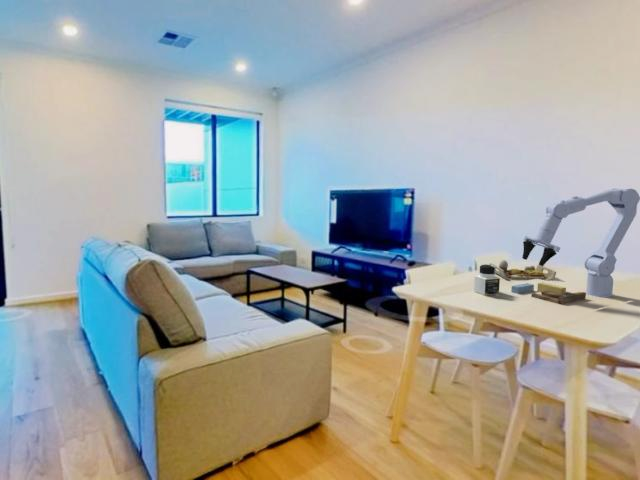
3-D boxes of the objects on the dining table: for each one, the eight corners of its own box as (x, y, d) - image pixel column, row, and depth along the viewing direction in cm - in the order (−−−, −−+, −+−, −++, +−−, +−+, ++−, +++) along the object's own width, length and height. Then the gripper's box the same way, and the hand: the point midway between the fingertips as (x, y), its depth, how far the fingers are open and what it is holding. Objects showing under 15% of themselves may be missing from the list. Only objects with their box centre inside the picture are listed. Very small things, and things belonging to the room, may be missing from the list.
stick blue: (527, 291, 169) (527, 283, 169) (533, 292, 166) (533, 284, 166) (511, 294, 165) (511, 285, 164) (517, 295, 162) (518, 287, 162)
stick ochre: (537, 291, 165) (537, 283, 165) (541, 290, 167) (542, 282, 166) (560, 297, 157) (561, 288, 156) (565, 296, 158) (566, 287, 157)
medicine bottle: (484, 295, 161) (486, 267, 160) (473, 291, 168) (474, 264, 167) (499, 294, 163) (500, 266, 162) (487, 290, 170) (488, 263, 169)
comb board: (531, 298, 157) (531, 289, 157) (555, 293, 164) (555, 285, 164) (560, 306, 147) (561, 297, 146) (585, 300, 154) (585, 292, 153)
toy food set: (502, 281, 188) (502, 265, 187) (488, 272, 206) (489, 258, 205) (556, 281, 187) (557, 265, 186) (538, 273, 205) (539, 258, 204)
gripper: (526, 224, 162) (511, 254, 164) (559, 233, 149) (543, 266, 151) (535, 228, 165) (521, 258, 167) (568, 238, 153) (552, 270, 155)
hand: (532, 262), depth 159 cm, fingers open, 7 cm apart
